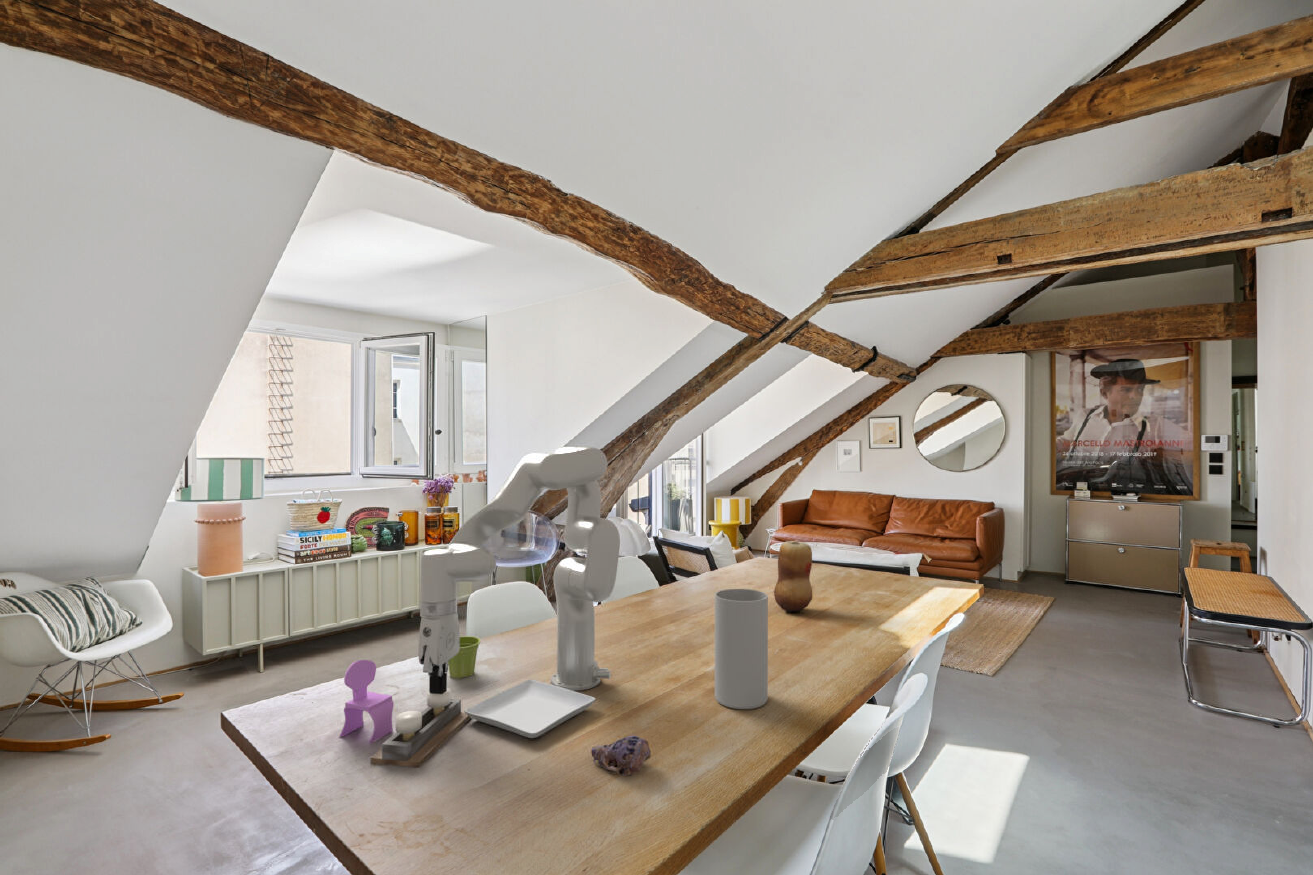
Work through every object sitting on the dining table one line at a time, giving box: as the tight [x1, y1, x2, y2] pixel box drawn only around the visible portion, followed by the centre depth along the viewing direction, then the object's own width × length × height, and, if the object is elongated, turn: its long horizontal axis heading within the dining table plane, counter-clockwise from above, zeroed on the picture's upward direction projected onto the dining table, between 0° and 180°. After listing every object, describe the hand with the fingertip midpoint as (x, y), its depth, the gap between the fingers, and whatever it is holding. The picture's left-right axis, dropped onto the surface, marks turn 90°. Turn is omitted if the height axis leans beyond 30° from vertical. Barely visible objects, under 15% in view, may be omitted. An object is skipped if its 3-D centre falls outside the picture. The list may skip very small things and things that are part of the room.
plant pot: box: [448, 635, 481, 680], centre depth 169 cm, size 9×9×9 cm
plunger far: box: [426, 687, 452, 718], centre depth 139 cm, size 5×5×5 cm
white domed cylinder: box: [395, 710, 422, 742], centre depth 127 cm, size 5×5×5 cm
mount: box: [370, 698, 472, 768], centre depth 133 cm, size 10×22×4 cm, turn 171°
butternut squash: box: [773, 540, 813, 613], centre depth 232 cm, size 14×13×25 cm
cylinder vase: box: [714, 588, 769, 710], centre depth 153 cm, size 12×12×25 cm
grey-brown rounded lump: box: [590, 735, 652, 777], centre depth 122 cm, size 12×8×6 cm, turn 57°
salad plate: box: [463, 678, 596, 739], centre depth 144 cm, size 21×21×3 cm
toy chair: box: [338, 659, 394, 744], centre depth 135 cm, size 8×9×15 cm
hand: (438, 692), depth 139 cm, fingers closed
